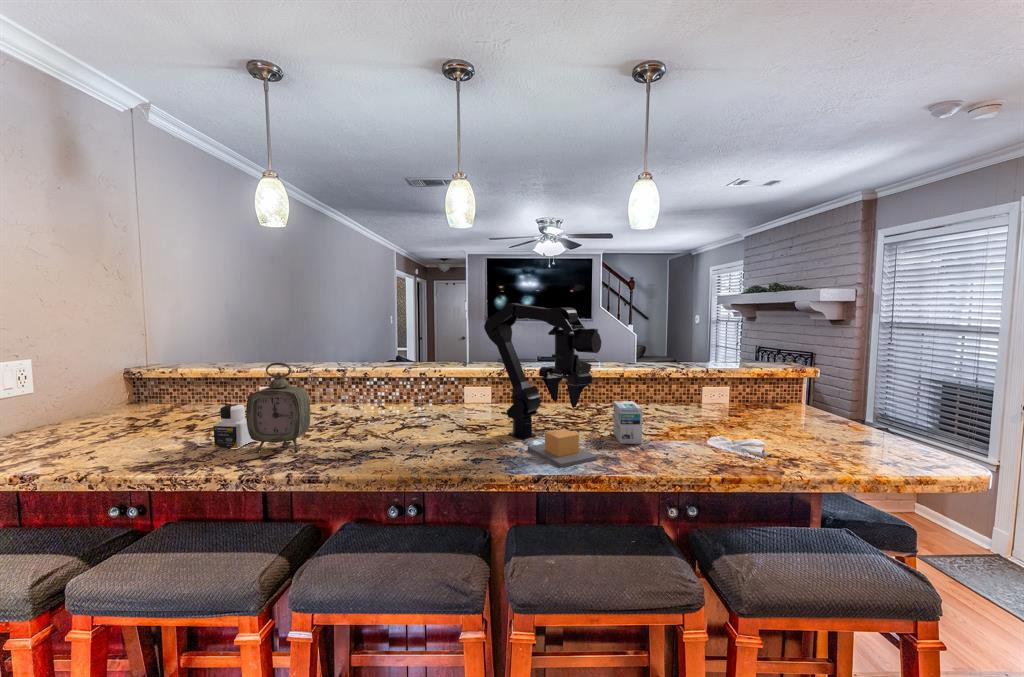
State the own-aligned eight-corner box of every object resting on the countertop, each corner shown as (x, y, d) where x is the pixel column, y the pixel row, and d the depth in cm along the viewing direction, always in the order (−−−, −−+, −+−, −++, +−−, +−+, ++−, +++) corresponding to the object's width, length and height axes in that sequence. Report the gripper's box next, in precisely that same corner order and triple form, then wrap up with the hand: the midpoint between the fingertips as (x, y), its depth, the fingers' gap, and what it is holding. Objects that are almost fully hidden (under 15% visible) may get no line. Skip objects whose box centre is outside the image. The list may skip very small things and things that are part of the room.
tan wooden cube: (544, 449, 126) (544, 432, 125) (564, 446, 129) (564, 428, 129) (558, 456, 120) (558, 438, 120) (578, 452, 123) (578, 434, 123)
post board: (527, 450, 129) (527, 436, 128) (562, 443, 134) (562, 430, 134) (561, 467, 115) (561, 452, 114) (597, 459, 121) (598, 444, 120)
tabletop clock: (247, 455, 125) (243, 364, 123) (264, 444, 134) (260, 360, 132) (301, 454, 126) (297, 364, 124) (314, 444, 135) (311, 360, 133)
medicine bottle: (214, 449, 130) (211, 407, 130) (232, 441, 138) (230, 402, 137) (236, 450, 130) (234, 408, 129) (253, 442, 137) (252, 403, 136)
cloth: (703, 437, 143) (703, 429, 143) (782, 444, 136) (783, 436, 136) (707, 457, 124) (707, 448, 124) (800, 467, 117) (800, 457, 116)
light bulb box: (642, 444, 134) (643, 408, 133) (619, 444, 134) (620, 408, 133) (633, 434, 144) (634, 400, 144) (612, 434, 145) (612, 400, 144)
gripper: (607, 352, 127) (607, 407, 128) (567, 347, 143) (567, 396, 145) (576, 354, 122) (575, 412, 123) (538, 348, 138) (538, 399, 139)
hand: (564, 404), depth 133 cm, fingers open, 9 cm apart
